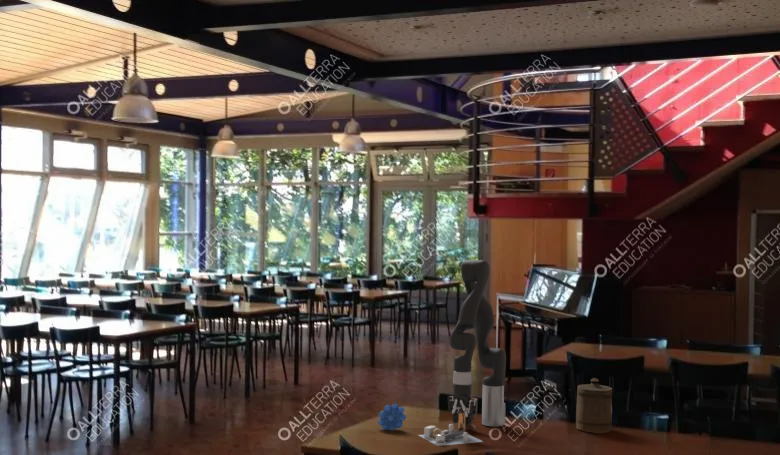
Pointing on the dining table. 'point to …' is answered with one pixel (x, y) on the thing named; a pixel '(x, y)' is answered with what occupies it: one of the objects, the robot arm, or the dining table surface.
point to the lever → (449, 435)
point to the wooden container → (594, 407)
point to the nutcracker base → (457, 440)
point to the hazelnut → (436, 432)
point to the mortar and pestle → (471, 417)
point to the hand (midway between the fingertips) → (461, 424)
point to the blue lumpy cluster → (391, 417)
